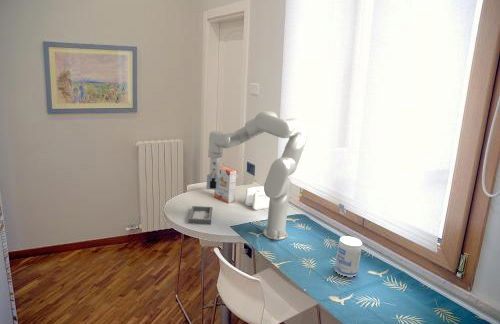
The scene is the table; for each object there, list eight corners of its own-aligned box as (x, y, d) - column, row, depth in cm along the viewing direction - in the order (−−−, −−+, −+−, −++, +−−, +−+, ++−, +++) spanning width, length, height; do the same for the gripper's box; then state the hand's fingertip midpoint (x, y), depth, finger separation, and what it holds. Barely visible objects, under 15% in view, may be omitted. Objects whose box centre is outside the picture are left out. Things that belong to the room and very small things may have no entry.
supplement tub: (332, 274, 155) (336, 242, 152) (336, 264, 164) (341, 233, 160) (355, 280, 151) (360, 247, 148) (359, 270, 160) (364, 239, 157)
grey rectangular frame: (210, 224, 196) (211, 220, 195) (188, 223, 195) (188, 219, 195) (212, 211, 215) (212, 206, 215) (191, 209, 215) (191, 205, 214)
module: (219, 190, 200) (220, 177, 199) (206, 189, 200) (207, 176, 198) (219, 187, 205) (220, 174, 203) (207, 186, 205) (207, 173, 203)
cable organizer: (264, 202, 237) (266, 185, 234) (274, 208, 228) (276, 190, 225) (244, 205, 228) (246, 187, 226) (254, 211, 220) (255, 193, 217)
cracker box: (213, 197, 239) (215, 166, 234) (220, 195, 243) (222, 165, 238) (227, 203, 229) (230, 171, 225) (234, 202, 234) (237, 170, 229)
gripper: (221, 158, 190) (219, 192, 194) (222, 151, 207) (220, 182, 211) (207, 157, 190) (204, 191, 194) (209, 150, 206) (207, 181, 210)
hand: (213, 186), depth 202 cm, fingers closed on module, 5 cm apart
